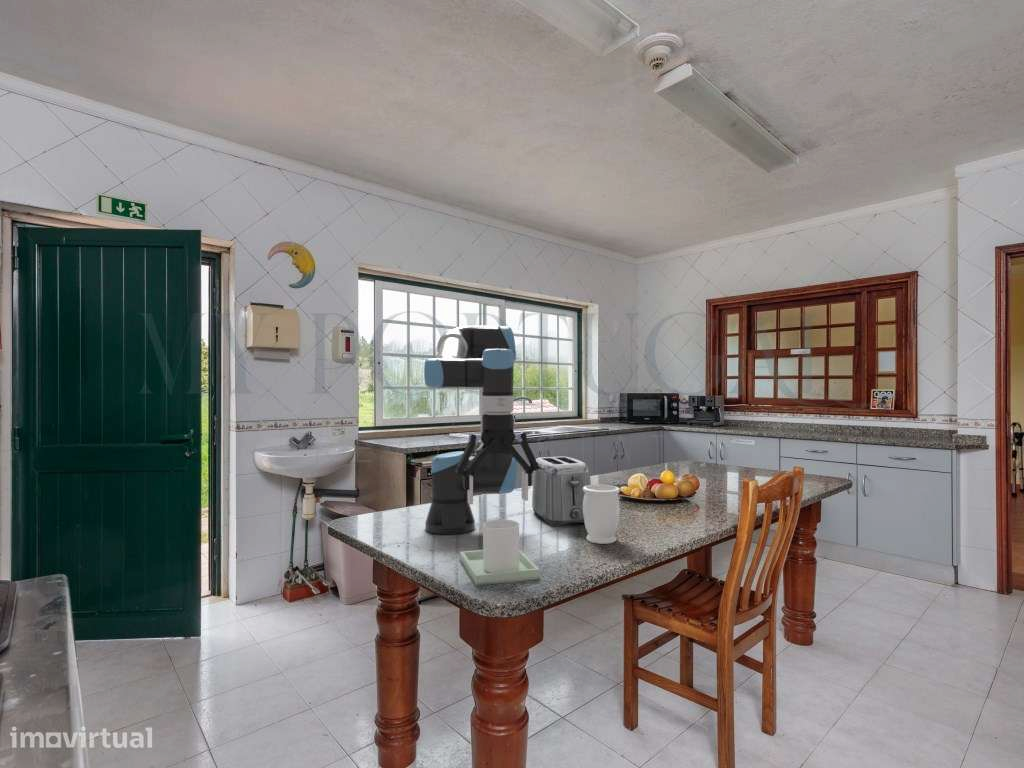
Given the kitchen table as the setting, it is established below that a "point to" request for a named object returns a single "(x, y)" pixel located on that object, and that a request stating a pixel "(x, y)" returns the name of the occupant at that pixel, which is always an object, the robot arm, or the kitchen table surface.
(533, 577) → the tray
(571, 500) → the toaster
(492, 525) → the mug
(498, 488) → the robot arm
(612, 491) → the jar
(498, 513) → the kitchen table surface
